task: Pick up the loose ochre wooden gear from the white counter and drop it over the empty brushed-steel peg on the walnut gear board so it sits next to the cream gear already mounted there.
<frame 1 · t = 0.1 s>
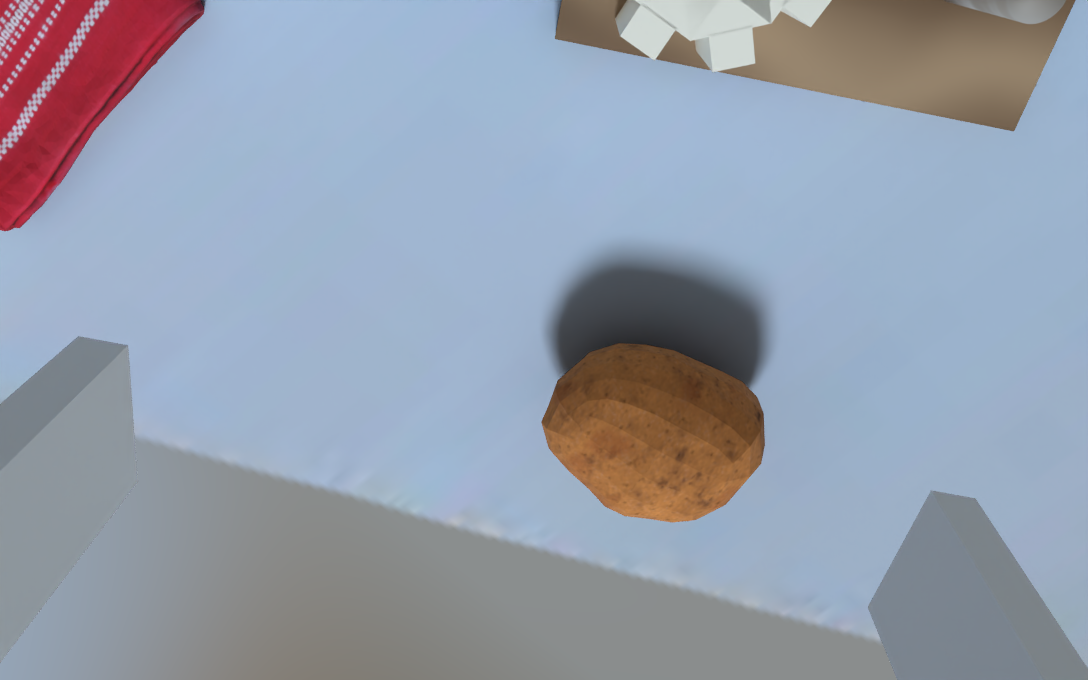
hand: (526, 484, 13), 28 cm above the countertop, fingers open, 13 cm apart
potato: (643, 393, 46), on the countertop
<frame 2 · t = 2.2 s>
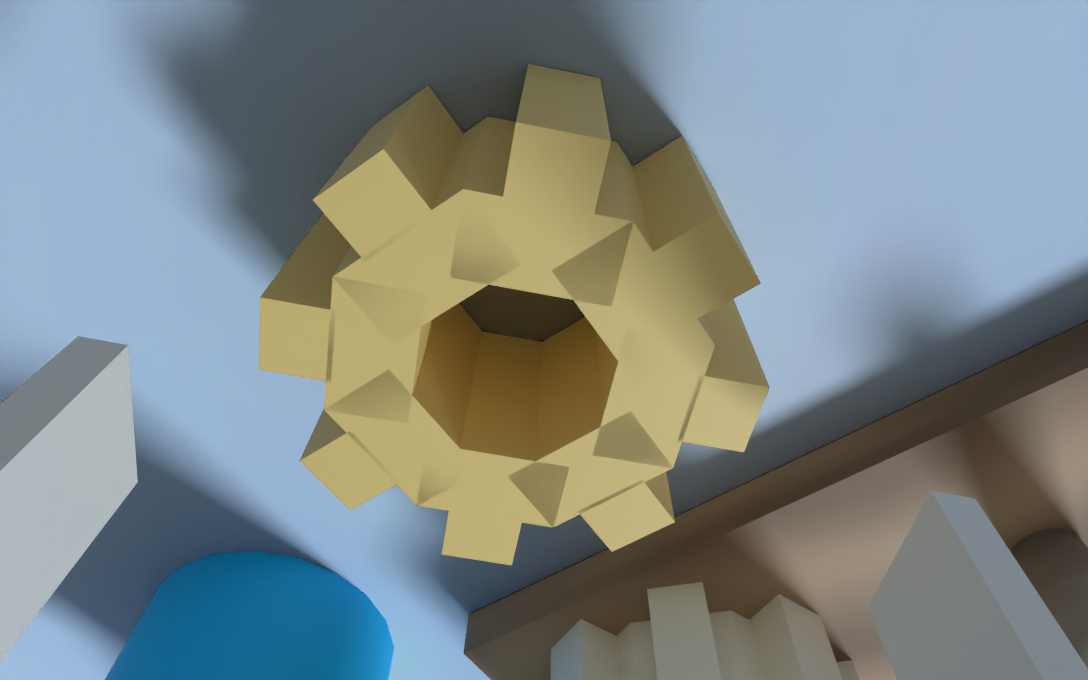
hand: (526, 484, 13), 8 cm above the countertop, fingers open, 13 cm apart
mug: (281, 672, 28), on the countertop
ochre gear: (525, 271, 20), on the countertop
walnut board: (842, 591, 25), on the countertop
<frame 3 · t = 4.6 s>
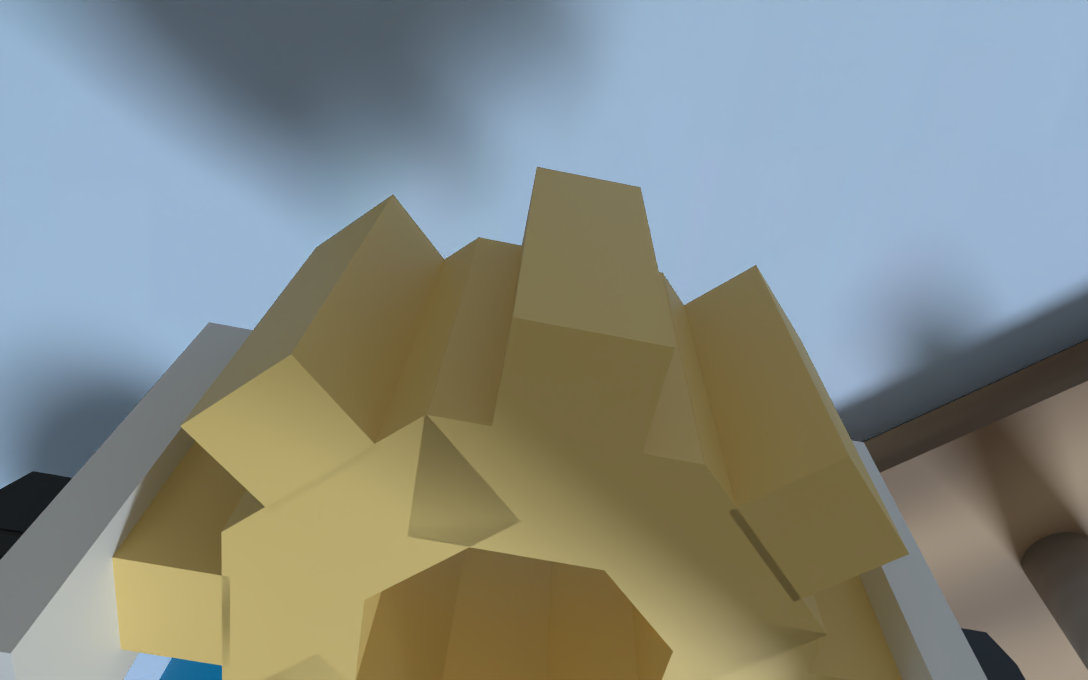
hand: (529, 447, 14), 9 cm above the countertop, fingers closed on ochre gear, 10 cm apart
mug: (330, 656, 30), on the countertop
ochre gear: (530, 436, 14), point 8 cm above the countertop, touching gripper
walnut board: (864, 591, 26), on the countertop
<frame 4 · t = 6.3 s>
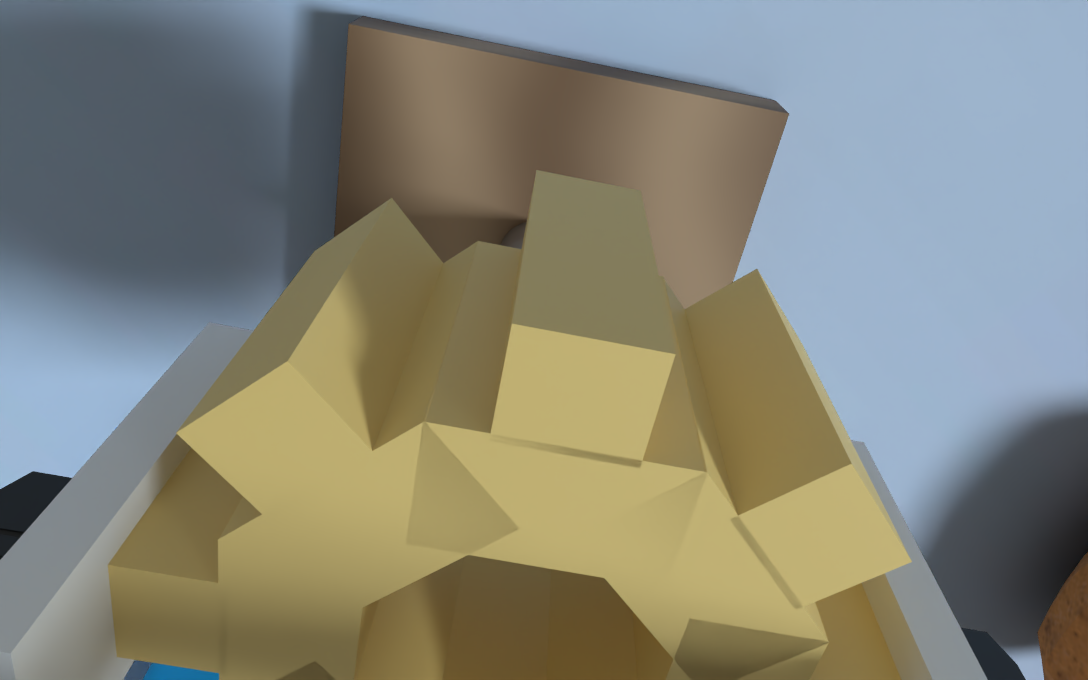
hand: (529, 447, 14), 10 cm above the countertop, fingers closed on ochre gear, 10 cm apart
ochre gear: (530, 440, 14), point 10 cm above the countertop, touching gripper
walnut board: (506, 392, 26), on the countertop
when the fingers open (3 cm above the countertop, at t = 8.2 s): ochre gear stays where it is, resting on walnut board.
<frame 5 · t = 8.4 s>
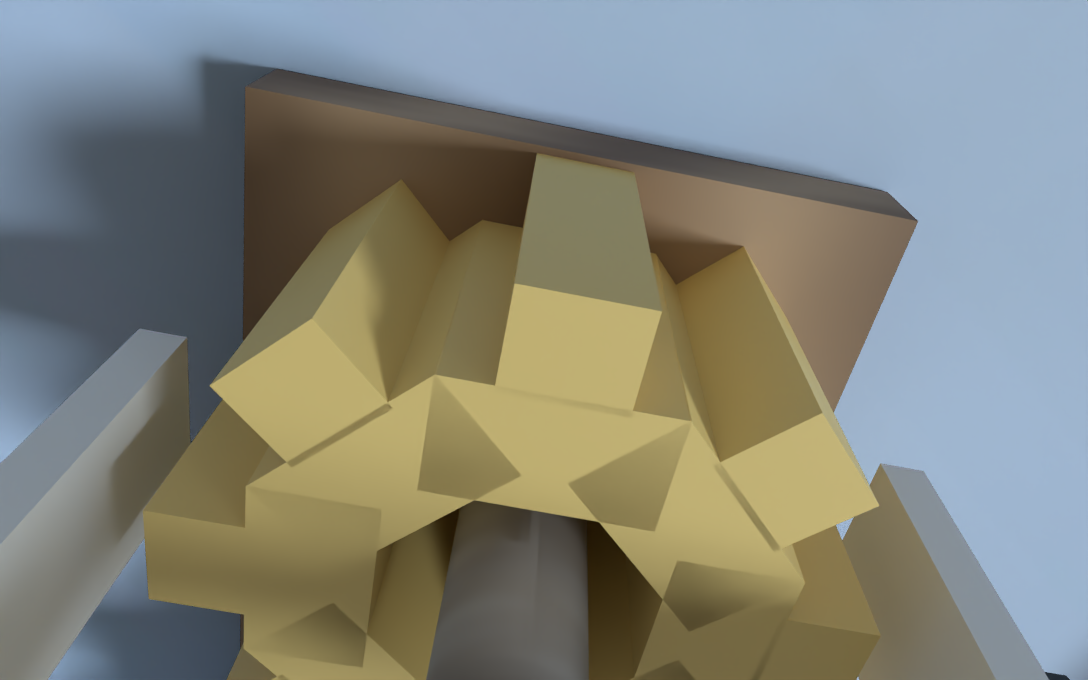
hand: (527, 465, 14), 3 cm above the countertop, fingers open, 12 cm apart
ochre gear: (531, 411, 15), point 1 cm above the countertop, touching walnut board
walnut board: (494, 563, 19), on the countertop
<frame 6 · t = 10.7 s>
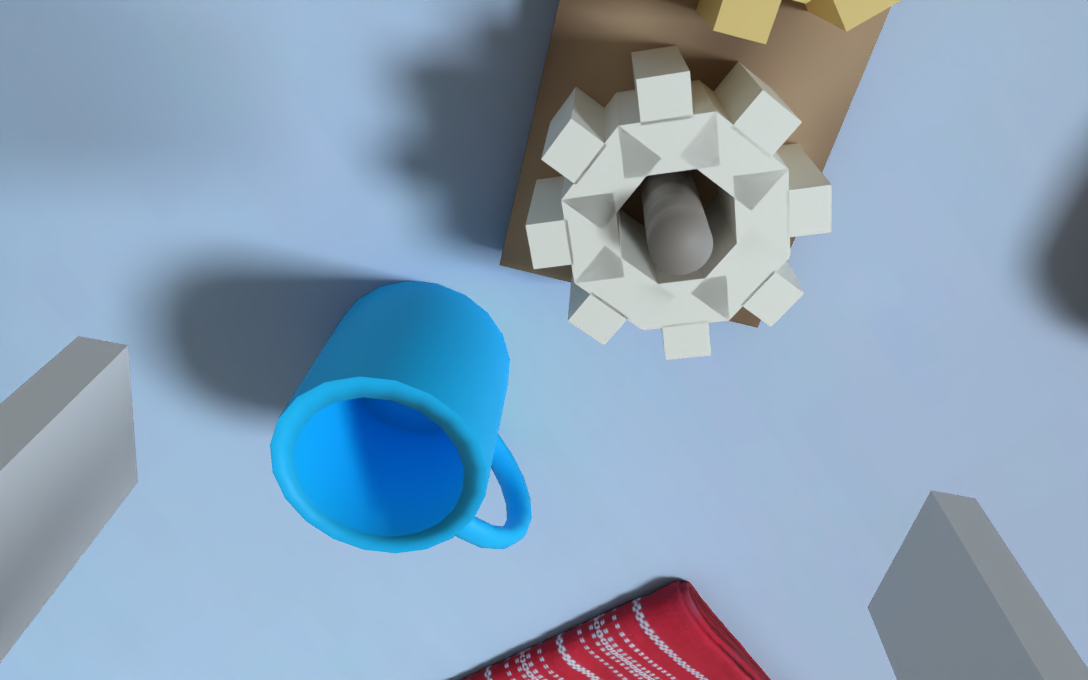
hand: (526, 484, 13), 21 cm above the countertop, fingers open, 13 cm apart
mug: (451, 386, 38), on the countertop
walnut board: (708, 27, 29), on the countertop
cream gear: (666, 182, 31), resting on walnut board
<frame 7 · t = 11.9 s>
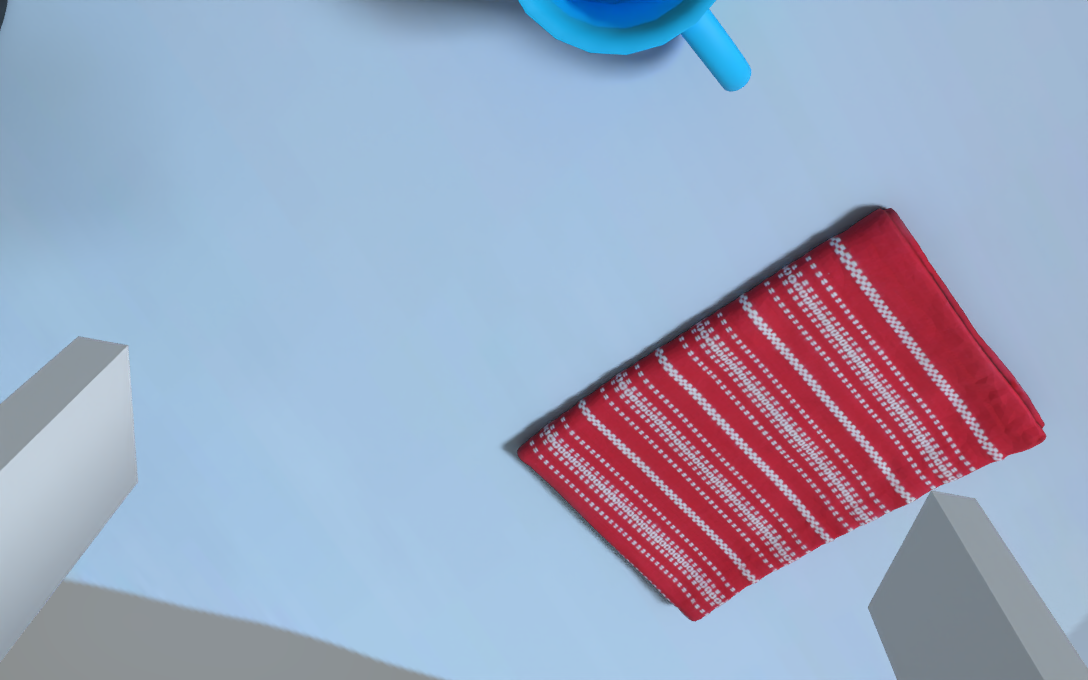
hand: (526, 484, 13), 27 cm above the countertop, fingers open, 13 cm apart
dish towel: (769, 425, 45), on the countertop
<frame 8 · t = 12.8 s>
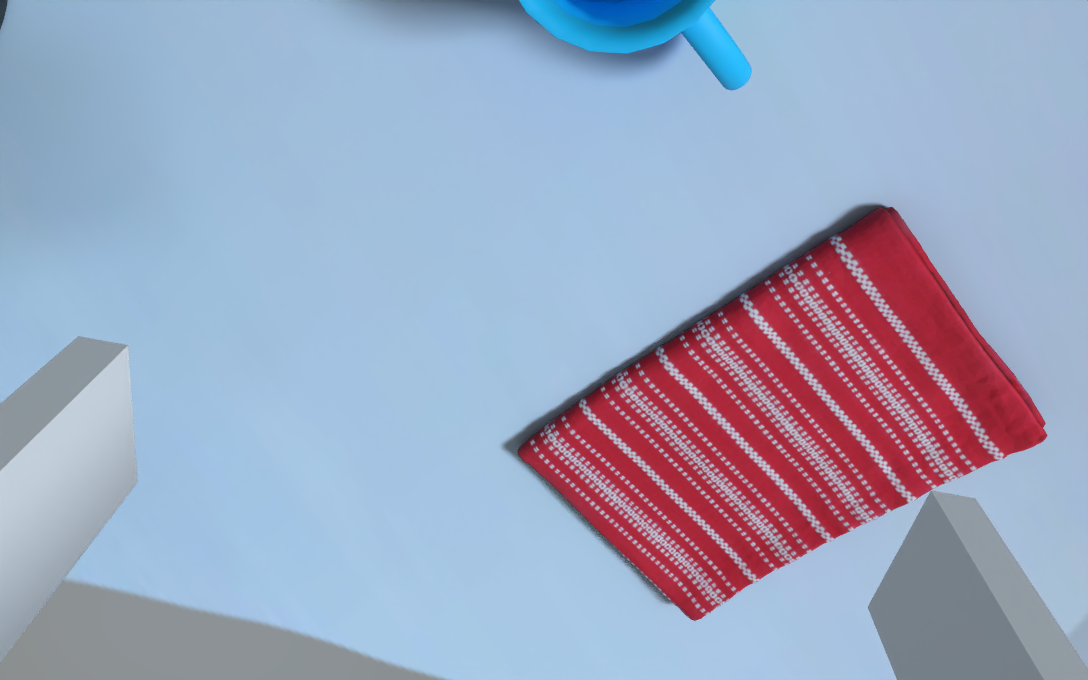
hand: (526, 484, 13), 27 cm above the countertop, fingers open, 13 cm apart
dish towel: (770, 425, 45), on the countertop
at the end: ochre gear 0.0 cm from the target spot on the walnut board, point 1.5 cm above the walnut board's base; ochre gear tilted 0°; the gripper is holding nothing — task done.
